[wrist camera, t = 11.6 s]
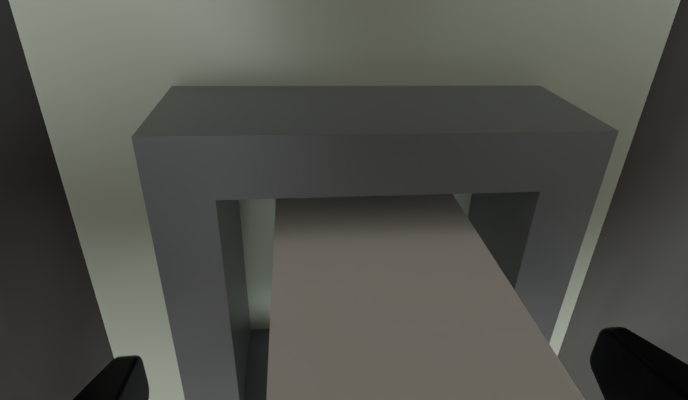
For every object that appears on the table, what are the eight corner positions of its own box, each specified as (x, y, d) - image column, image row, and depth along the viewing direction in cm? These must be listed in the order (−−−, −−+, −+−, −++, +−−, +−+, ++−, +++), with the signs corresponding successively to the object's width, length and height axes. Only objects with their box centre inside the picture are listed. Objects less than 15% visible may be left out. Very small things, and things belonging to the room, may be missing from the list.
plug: (282, 299, 13) (276, 692, 6) (276, 172, 11) (259, 536, 4) (420, 293, 14) (554, 656, 7) (437, 170, 12) (649, 499, 5)
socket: (144, 396, 16) (102, 528, 13) (21, -67, 10) (-144, -70, 6) (528, 370, 18) (590, 482, 14) (657, -47, 11) (840, -40, 7)
